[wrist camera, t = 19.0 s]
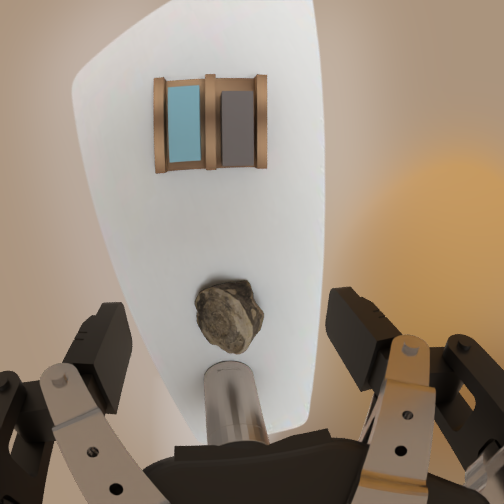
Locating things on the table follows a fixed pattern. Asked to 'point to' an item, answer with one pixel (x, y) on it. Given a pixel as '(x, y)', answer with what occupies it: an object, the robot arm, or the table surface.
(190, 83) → the block
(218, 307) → the brown rock
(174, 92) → the tall teal pillar
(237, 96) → the dark gray block
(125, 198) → the table surface
